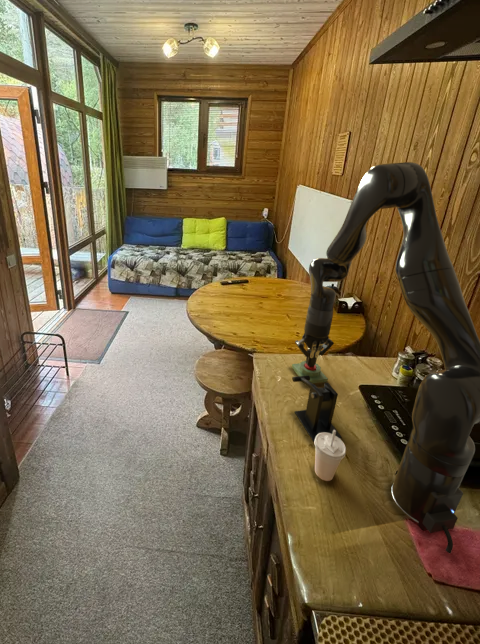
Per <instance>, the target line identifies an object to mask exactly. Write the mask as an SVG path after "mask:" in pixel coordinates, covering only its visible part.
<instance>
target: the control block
mask: <svg viewBox="0 0 480 644" xmlns="http://www.w3.org/2000/svg"><path fill="white" fill-rule="evenodd" d="M305 363H306V360H302V361H301V362H300V363H292V364H291V368H292V370H293V371H294V372H295V373H296V376H307V375H309V376H310V380H309V382H311V383H312V384H320V383H329V378H328V377H327V376H326V374H325V373H324V372H323V371H322V368H321V366H320V365H319V364H318V363H316V364H315V365H316V370H315V371H311V370H308V369H306V368H305V367H304V366H305Z"/></svg>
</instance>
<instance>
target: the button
mask: <svg viewBox="0 0 480 644" xmlns="http://www.w3.org/2000/svg"><path fill="white" fill-rule="evenodd" d="M304 367H305V368H306V369H308V370H311V371H315V370H316V365H314V367H309V366H308V365H307V364H306V363H305V366H304Z"/></svg>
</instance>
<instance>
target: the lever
mask: <svg viewBox="0 0 480 644" xmlns="http://www.w3.org/2000/svg"><path fill="white" fill-rule="evenodd" d="M291 380H292V383H298V382H301V383H302V384H303V385H305V386H306V387H307V388H309V389H310V386H311V384H313V383H311V382H309V380H310V376H309V375H307V376H298V375H296V376H292V378H291ZM316 387H317V388H318V389H319V390H320V392H321V393H322V394H323V395H324V396H323V401H322V402H325V401H330V392H329V391H328V390H326V389H325V388H324V387H318V386H316Z"/></svg>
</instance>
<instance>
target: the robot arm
mask: <svg viewBox="0 0 480 644" xmlns="http://www.w3.org/2000/svg"><path fill="white" fill-rule="evenodd" d="M433 196H434V195H433V192H432V187H431V184H430V180H429V176H428V173H427V172H426V170H425V169H424V167H423V166H421V165H420V164H418V163H417V162H414V161H413V162H412V161H403V162H390V163H380V164H375V165H373V166H372V167H370V168H369V169H368V170H367V171H366V172H365V174H364V175H363V177H362V179H361V180H360V183H359V184H358V186H357V189H356V191H355V194H354V196H353V198H352V200H351V203H350V205H349V208H348V210H347V214H346V215H345V216H346V217H345V218H344V220H343V223H342V224H341V227H340V229H339V230H338V232H337V234H336V235H335V236H334V238H333V239H332V241H331V243H330V244H329V246H328V247H327V249H326V252H325V254H326V255H325V256H326V257H316V258H313V260H312V261H311V262H310V264H309V266H308V276H309V281H310V298H309V304H308V307H307V310H306V316H305V323H304V328H303V330H304V331H303V332H304V333H303V334H302V336H301V339H300V340H295V341H294V343H295V345H296V346H297V348H298V349H299V350H300V352H301V353H302V354H303V356H304V357H306V358H305V361H306V364H307V365H308V366H309V367H314V365H315V364H317V359H318V357H319V356H322V357H323V356H324V355H325V354H326V353H327V352H328V351H329V350H330V349H331V348H332V347H333V346H334V344H335V343H334V341H333V340H332V339H331V338H330V337H329V336H330V333H331V328H332V323H333V317H334V309H335V304H336V303H335V302H336V298H337V293H336V291H335V289H334V288H331V287H328V286H326V285H325V286H324V283H339V282H342V281H344V280H345V279H346V278H347V277H348V275H349V271H350V268H351V265H352V262H353V260H354V259H355V258H356V257H357V256H358V254H359V253H360V252H361V250H362V249H363V247H364V246H365V244H366V241H367V237H368V235H367V234H368V233H367V224H368V222H369V220H370V219H371V218H372V217H373V216H374V215H375V214H376V213H377V212H379V210H384V209H397V211H398V213H399V217H400V220H401V225H402V229H403V236H402V241H401V245H400V248H399V251H398V254H397V258H396V261H395V275H396V279H397V284H398V287H399V291H400V293H401V297H402V299H403V301H404V303H405V306H406V307H407V309H408V310H409V311H410V313H411V314H412V315H413V316H414V317H415V318H416V319H417V321H419V322H420V324H421V325H422V326H423V327H424V328H425V329H426V330H427V332H429V334H430V335H431V337H432V338H433V339H434V341H435V344H436V345H437V348H438V351H439V354H440V356H441V359H442V364H443V368H444V369H442V370H437V371H434V372H431V373H428V374H427V375H425V376H424V377H423V379H422V380H421V382H420V384H419V386H418V389H417V392H416V397H415V400H414V403H413V408H412V412H411V422H412V428H411V431H410V435H409V436H408V437H409V438H408V441H407V443H406V446H405V448H404V452H403V454H402V457H401V461H400V463H399V466H398V469H397V470H396V471H395V473H394V475H395V478H394V480H393V484H392V485H391V495H392V498H393V501H394V502H395V503H396V505H397V506H398V508H399V509H401V511H402V512H403V513H404V514H406V515H407V516H408V517H409V518H408V521H410V522H412V523H413V524H415V525H417V526H418V527H419V528H420V530H422V531H423V532H427V531H428V532H429V533H430V534H433V533H439V532H444V534H445V537H446V540H447V541H446V542H447V545H446V547H445V552H446V553H448V554H452V552H453V548H454V543H453V542H454V541H453V538H452V535H451V532H450V530H453V529H454V528H455V525H456V524H457V521H458V519H459V517H458V516H457V515H456V514H455V513H456V511H457V509H458V506H459V504H460V502H461V500H462V497H463V495H464V491H463V490H461V489H460V486H461V484H462V482H463V480H464V477H465V476H466V472H467V471H468V469H469V466H470V464H471V462H472V460H473V458H474V455H475V452H476V445H475V442H474V440H473V439H472V438H471V436H470V434H471V432H472V429H473V427H474V425H476V424H480V338H479V336H478V334H477V330H476V328H475V325H474V322H473V320H472V317H471V314H470V312H469V309H468V306H467V304H466V301H465V298H464V294H463V290H462V288H461V284H460V281H459V279H458V276H457V273H456V271H455V267H454V265H453V263H452V260H451V257H450V255H449V252H448V250H447V246H446V242H445V239H444V236H443V233H442V230H441V227H440V223H439V221H438V216H437V212H436V206H435V202H434V197H433ZM305 347H306V349H305Z"/></svg>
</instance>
